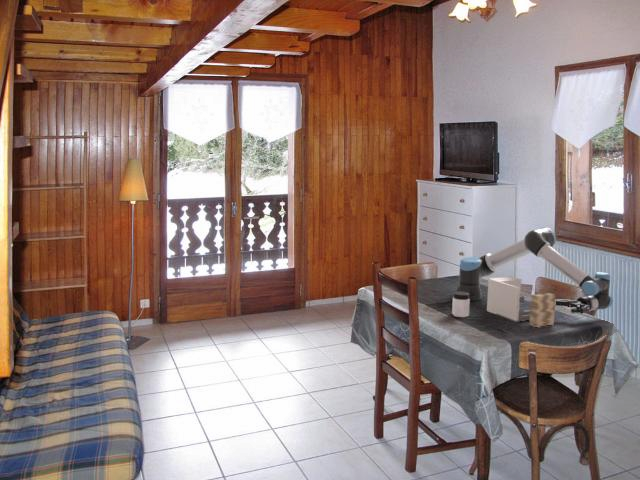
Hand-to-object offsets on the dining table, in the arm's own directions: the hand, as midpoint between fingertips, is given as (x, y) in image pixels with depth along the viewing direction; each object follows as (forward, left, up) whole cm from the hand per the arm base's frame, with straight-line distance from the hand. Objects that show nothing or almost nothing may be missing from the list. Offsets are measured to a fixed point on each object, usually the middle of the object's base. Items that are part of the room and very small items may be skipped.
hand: (555, 307), depth 323 cm
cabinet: (+1, -23, -9) cm, 25 cm away
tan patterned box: (+7, -3, -9) cm, 12 cm away
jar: (+22, -41, -9) cm, 48 cm away
